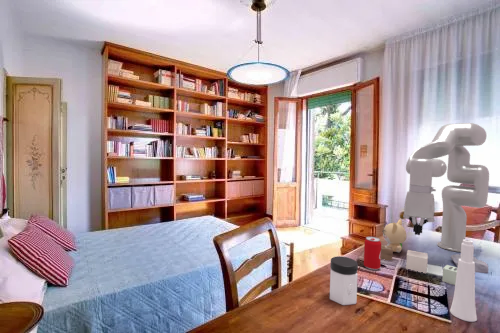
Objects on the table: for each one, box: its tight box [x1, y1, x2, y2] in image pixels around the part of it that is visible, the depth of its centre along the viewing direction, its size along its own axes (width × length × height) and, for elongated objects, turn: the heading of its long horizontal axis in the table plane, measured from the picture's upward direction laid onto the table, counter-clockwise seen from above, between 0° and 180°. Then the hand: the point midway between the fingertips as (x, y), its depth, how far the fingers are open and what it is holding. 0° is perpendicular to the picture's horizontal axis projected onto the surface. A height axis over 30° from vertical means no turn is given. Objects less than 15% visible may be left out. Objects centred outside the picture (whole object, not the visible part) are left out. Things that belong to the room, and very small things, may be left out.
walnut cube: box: [381, 244, 394, 261], centre depth 118 cm, size 5×5×5 cm
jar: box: [329, 255, 359, 306], centre depth 84 cm, size 9×8×12 cm
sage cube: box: [442, 264, 457, 286], centre depth 96 cm, size 5×5×5 cm
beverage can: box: [363, 236, 382, 271], centre depth 107 cm, size 6×6×12 cm
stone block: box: [450, 253, 489, 274], centre depth 111 cm, size 12×5×10 cm
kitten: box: [382, 218, 407, 253], centre depth 127 cm, size 15×10×15 cm
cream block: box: [405, 249, 429, 274], centre depth 108 cm, size 7×7×6 cm
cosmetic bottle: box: [449, 239, 478, 323], centre depth 76 cm, size 6×6×22 cm
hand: (417, 234), depth 107 cm, fingers closed
